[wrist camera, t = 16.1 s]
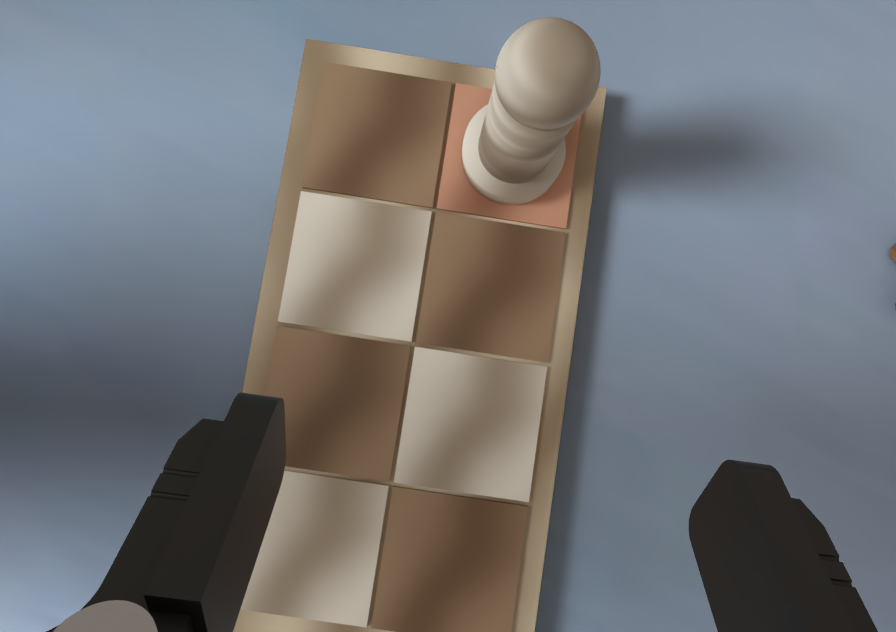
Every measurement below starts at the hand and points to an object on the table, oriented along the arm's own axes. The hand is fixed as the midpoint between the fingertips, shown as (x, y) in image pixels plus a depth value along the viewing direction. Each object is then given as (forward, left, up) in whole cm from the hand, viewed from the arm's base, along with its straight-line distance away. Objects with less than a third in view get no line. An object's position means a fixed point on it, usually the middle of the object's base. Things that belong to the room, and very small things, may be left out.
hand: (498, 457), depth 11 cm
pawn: (+1, +12, -17) cm, 21 cm away
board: (-2, +2, -18) cm, 19 cm away
